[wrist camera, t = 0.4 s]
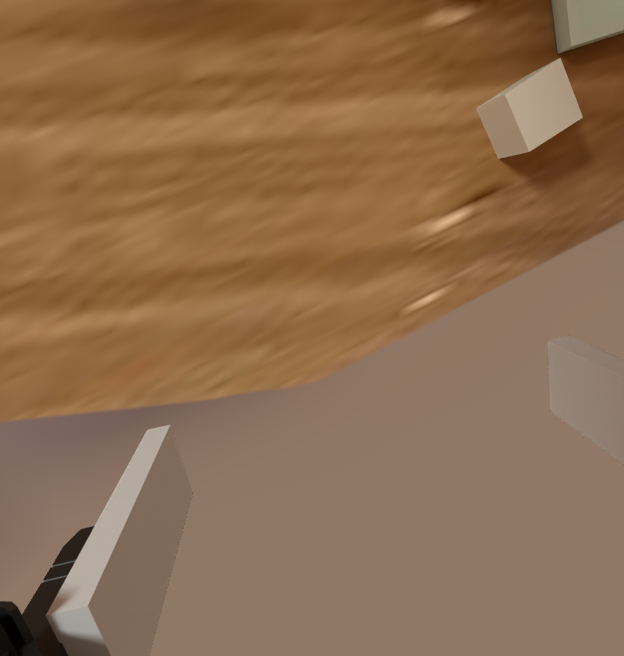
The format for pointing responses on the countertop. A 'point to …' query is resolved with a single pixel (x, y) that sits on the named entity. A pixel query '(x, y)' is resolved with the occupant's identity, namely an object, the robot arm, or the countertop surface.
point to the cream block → (530, 111)
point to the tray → (586, 21)
